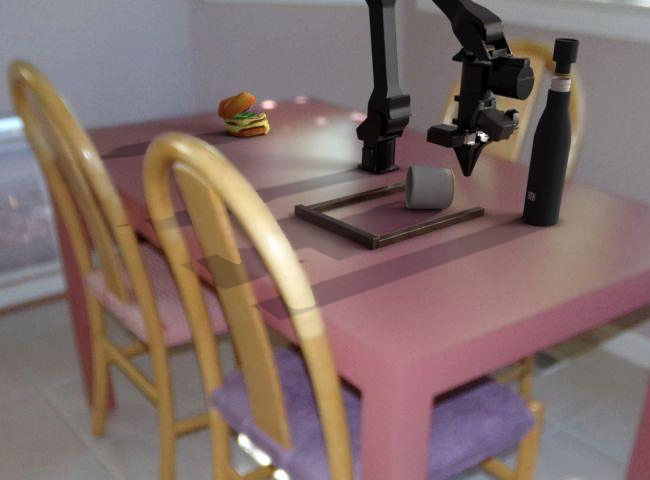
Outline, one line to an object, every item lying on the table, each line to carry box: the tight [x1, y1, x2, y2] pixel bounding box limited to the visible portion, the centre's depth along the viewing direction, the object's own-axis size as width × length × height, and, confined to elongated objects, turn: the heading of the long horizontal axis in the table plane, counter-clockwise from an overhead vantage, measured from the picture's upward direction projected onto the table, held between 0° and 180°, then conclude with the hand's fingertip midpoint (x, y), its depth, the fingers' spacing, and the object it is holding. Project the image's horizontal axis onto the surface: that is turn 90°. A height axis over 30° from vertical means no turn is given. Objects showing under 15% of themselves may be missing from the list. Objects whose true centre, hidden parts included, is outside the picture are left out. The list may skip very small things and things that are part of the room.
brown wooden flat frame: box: [293, 180, 486, 250], centre depth 141 cm, size 28×20×2 cm
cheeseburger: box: [217, 91, 270, 138], centre depth 183 cm, size 10×11×10 cm
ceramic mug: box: [404, 164, 456, 210], centre depth 145 cm, size 11×8×8 cm
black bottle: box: [521, 37, 580, 227], centre depth 135 cm, size 6×6×30 cm
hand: (466, 176), depth 152 cm, fingers closed
